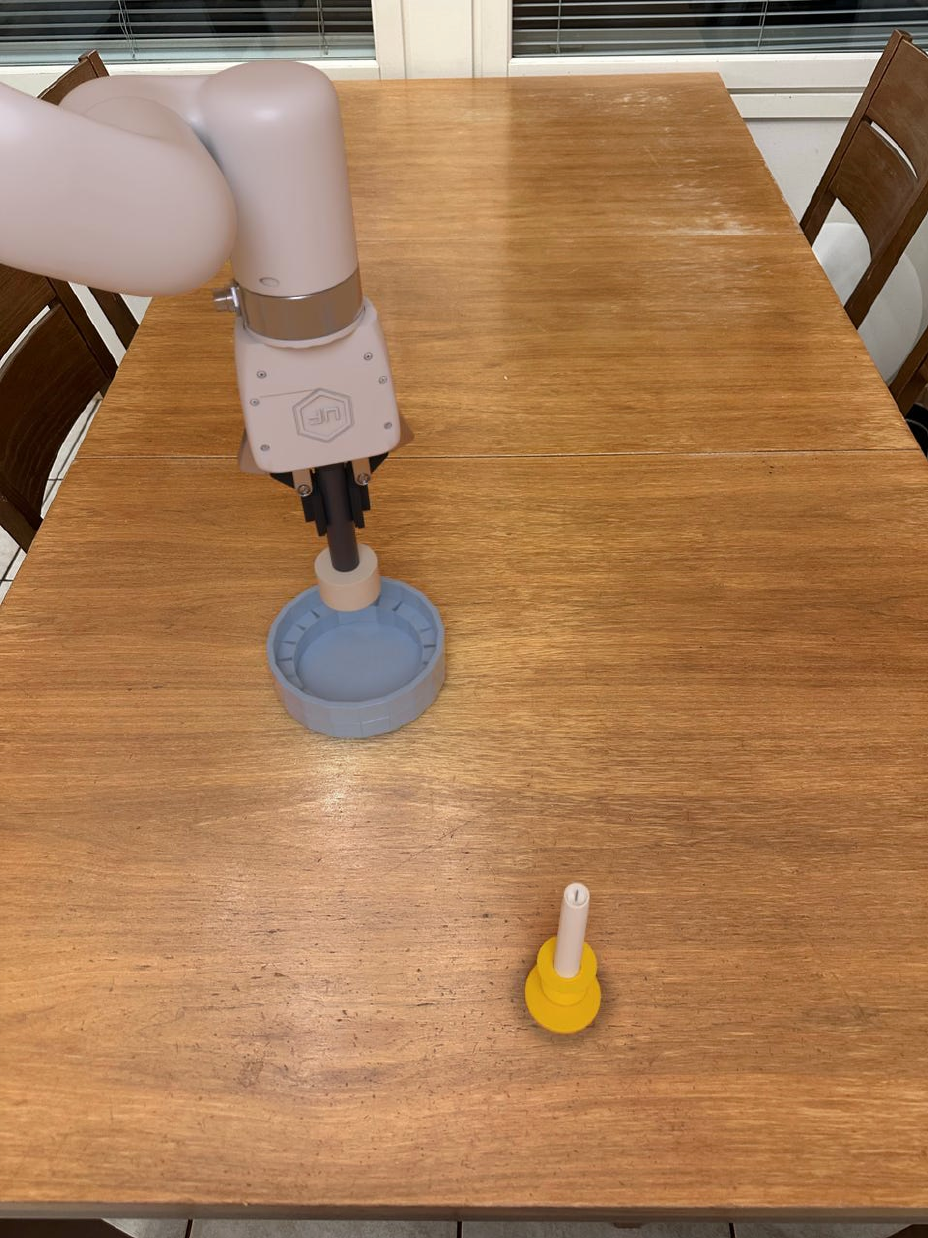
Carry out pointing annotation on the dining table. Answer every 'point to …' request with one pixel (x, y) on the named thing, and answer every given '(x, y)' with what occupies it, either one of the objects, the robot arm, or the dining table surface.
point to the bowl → (358, 661)
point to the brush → (343, 548)
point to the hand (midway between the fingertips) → (338, 519)
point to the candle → (566, 971)
